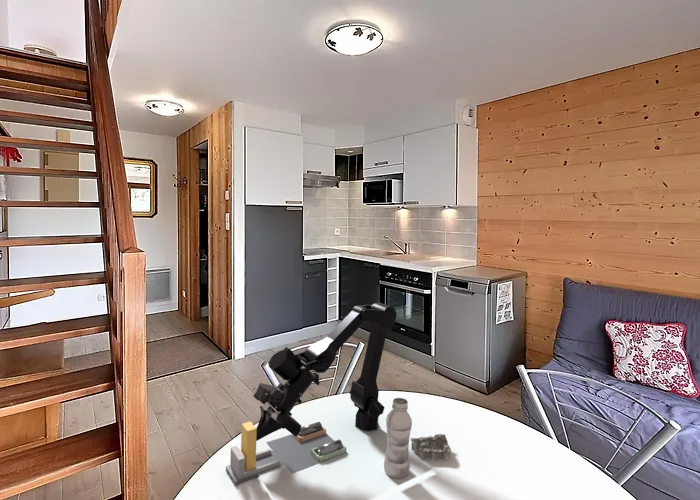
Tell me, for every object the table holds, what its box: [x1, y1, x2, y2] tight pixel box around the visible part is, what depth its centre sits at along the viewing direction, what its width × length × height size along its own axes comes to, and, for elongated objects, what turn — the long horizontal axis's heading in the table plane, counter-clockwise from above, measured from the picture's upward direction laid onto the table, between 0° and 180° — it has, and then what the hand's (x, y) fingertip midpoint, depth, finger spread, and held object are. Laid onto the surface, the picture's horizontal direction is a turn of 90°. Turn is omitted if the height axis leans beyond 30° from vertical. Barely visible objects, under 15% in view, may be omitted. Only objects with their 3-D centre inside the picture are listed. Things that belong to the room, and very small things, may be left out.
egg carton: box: [410, 433, 452, 461], centre depth 114 cm, size 11×8×4 cm
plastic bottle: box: [383, 397, 413, 480], centre depth 103 cm, size 6×7×20 cm
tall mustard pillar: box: [240, 420, 257, 471], centre depth 102 cm, size 2×4×11 cm, turn 35°
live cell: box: [317, 439, 344, 457], centre depth 110 cm, size 7×3×3 cm, turn 125°
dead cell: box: [299, 421, 323, 437], centre depth 119 cm, size 7×3×3 cm, turn 125°
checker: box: [225, 425, 348, 486], centre depth 109 cm, size 30×16×6 cm, turn 125°
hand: (254, 439), depth 103 cm, fingers closed
